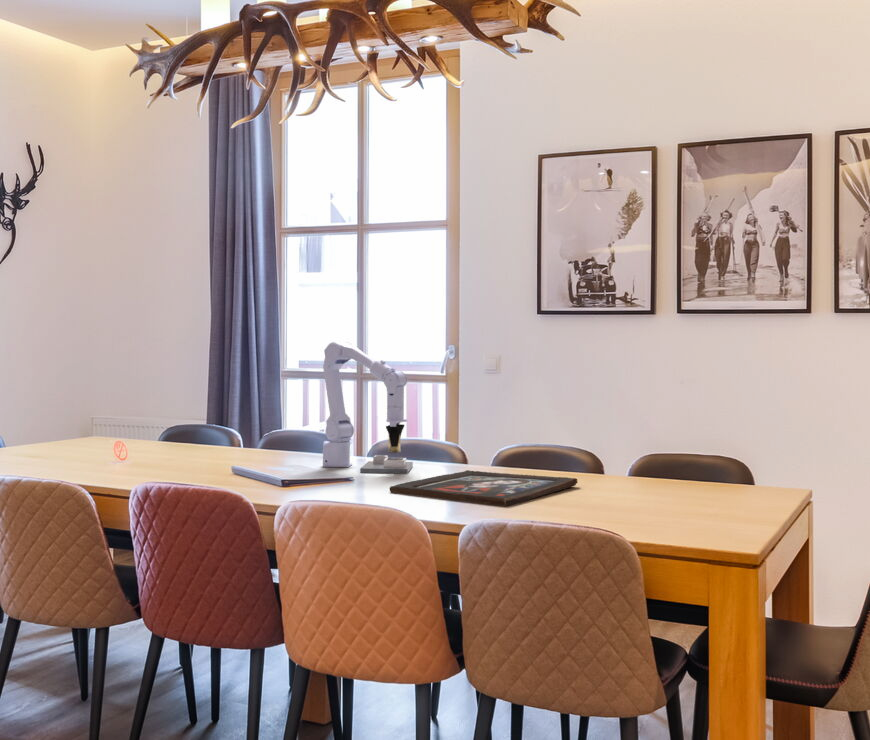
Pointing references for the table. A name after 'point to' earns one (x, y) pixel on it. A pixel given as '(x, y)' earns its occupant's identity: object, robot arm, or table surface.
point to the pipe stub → (394, 449)
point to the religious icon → (484, 487)
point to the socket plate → (386, 465)
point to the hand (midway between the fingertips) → (395, 446)
